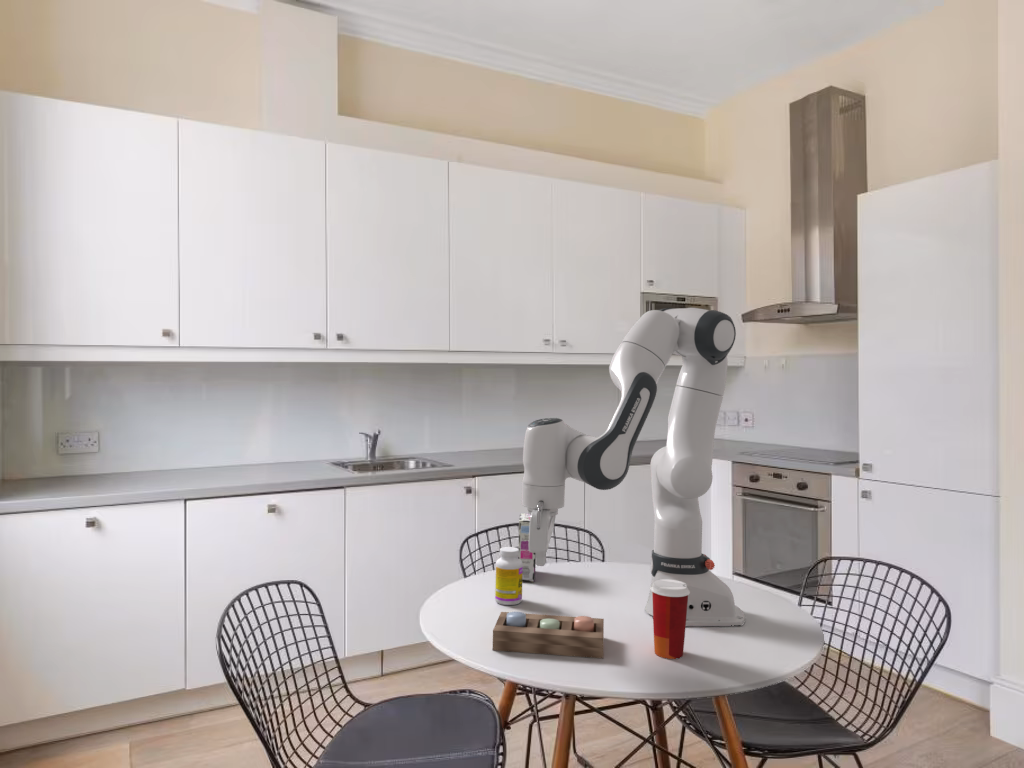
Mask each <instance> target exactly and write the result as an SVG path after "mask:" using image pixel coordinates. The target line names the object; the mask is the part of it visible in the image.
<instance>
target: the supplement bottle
mask: <svg viewBox="0 0 1024 768" xmlns="http://www.w3.org/2000/svg"><path fill="white" fill-rule="evenodd" d="M499 555H500V558H498V559H497V560H495V576H494V578H495V581H494V601H495V603H497V604H498V605H504V606H515V605H519V604H520V603H522V601H523V582H522V571H523V563H522V561H521V560H520V559H518V555H519V549H518V548H517V547H514V546H503V547H500V549H499Z"/></svg>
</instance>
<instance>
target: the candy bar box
mask: <svg viewBox="0 0 1024 768" xmlns="http://www.w3.org/2000/svg"><path fill="white" fill-rule="evenodd" d="M530 516H531V515H530V514H528V513H525V512H524V513H520V514H519V518H518V519H519V520H518V544H517V545H518V549H519V555H518V559H520V560H521V561H522V563H523V571H522V583H523V582H524V583H525V582H526V583H527V582H528V583H534V582H536V581H535V579H536V566H537V565H536V553H531V552H529V525H530Z"/></svg>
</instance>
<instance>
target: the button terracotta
mask: <svg viewBox="0 0 1024 768" xmlns="http://www.w3.org/2000/svg"><path fill="white" fill-rule="evenodd" d="M574 617H575V618H574V631H587V632H594V619H593V618H594V617H591V616H585V615H578V616H574Z"/></svg>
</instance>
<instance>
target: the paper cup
mask: <svg viewBox="0 0 1024 768" xmlns="http://www.w3.org/2000/svg"><path fill="white" fill-rule="evenodd" d="M650 587H651V586H650ZM650 590H651V591H652V596H653V616H652V617H653V618H652V620H653V621H652V622H653V625H652V627H653V642H654V643H653V644H654V646H653V647H654V654H655V655H656V656H658V657H660V658H662V659H666V658H667V659H668V660H677V659H676V658H678V659H681V658H682V657H683V655H684V649H685V640H686V639H685V637H686V627H687V626H686V615H687V603H688V595H689V594H690V591H689V590H688V587H687V585H686V584H685V583H684V582H681V581H677V580H669V579H662V580H657V581H655V582H654V584H652V587H651V588H649V591H650ZM680 657H681V658H680Z"/></svg>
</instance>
